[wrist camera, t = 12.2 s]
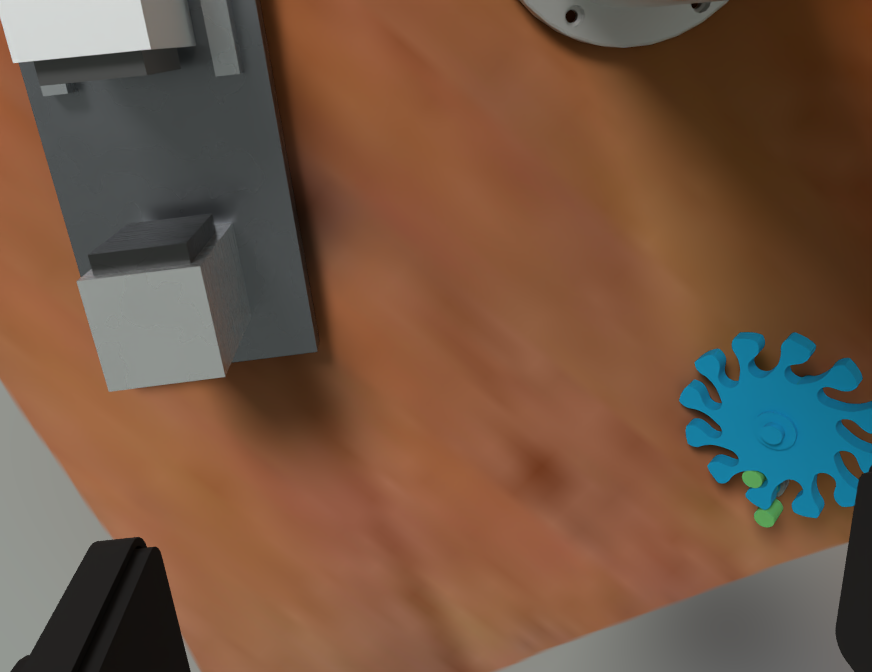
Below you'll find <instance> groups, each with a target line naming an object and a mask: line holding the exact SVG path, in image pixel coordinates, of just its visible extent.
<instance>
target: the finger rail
mask: <svg viewBox="0 0 872 672" xmlns="http://www.w3.org/2000/svg"><path fill="white" fill-rule="evenodd" d="M187 1H188V7H189V12H190V17H191V22H192V27H193V32H194V37H195V42H196V46H190V47H180V48H177V51H178V56H179V61H180V66H181V69H178V70H172V71H167V72H162V73H156V74H151V75H144V76H135V77H125V78H115V79H105V80H95V81H86V82H76V83H66V84H56V85H46V86H40V84H39V80H38V77H37V73H36V69H35V66H34V62H33V61H32V62H20V63H19V66H20V69H21V72H22V76H23V79H24V83H25V86H26V90H27V93H28V97H29V100H30V103H31V107H32V110H33V114H34V117H35V121H36V124H37V128H38V131H39V134H40V138H41V141H42V145H43V148H44V152H45V155H46V159H47V162H48V165H49V169H50V172H51V176H52V179H53V183H54V186H55V190H56V193H57V196H58V200H59V203H60V207H61V210H62V214H63V217H64V221H65V224H66V227H67V231H68V234H69V238H70V241H71V245H72V248H73V252H74V255H75V258H76V262H77V265H78V269H79V272H80V276H81V278H80V279H79V280H77V284H78V288H79V291H80V295H81V298H82V302H83V305H84V308H85V312H86V315H87V319H88V322H89V325H90V329H91V332H92V336H93V339H94V342H95V346H96V349H97V353H98V356H99V360H100V363H101V366H102V370H103V373H104V377H105V380H106V383H107V387H108V390H109V392H110V391H118V390H126V389H134V388H142V387H149V386H157V385H165V384H173V383H181V382H189V381H197V380H205V379H213V378H220V377H225V376H226V374H227V372H228V369H229V367H230V365H231V363H232V362H240V361H248V360H256V359H264V358H272V357H280V356H288V355H296V354H304V353H311V352H317V351H318V346H319V335H318V329H317V323H316V318H315V312H314V306H313V300H312V295H311V289H310V283H309V278H308V272H307V266H306V260H305V255H304V249H303V243H302V238H301V232H300V226H299V220H298V215H297V209H296V203H295V198H294V192H293V186H292V180H291V175H290V169H289V163H288V158H287V152H286V146H285V140H284V135H283V129H282V123H281V118H280V112H279V106H278V100H277V95H276V89H275V83H274V78H273V72H272V66H271V60H270V55H269V49H268V43H267V37H266V32H265V26H264V20H263V15H262V9H261V3H260V0H187Z"/></svg>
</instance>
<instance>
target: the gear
mask: <svg viewBox="0 0 872 672" xmlns="http://www.w3.org/2000/svg"><path fill="white" fill-rule="evenodd" d="M764 346H765V339H764V337H763V335H761V334H758V333H753V332H740V333H739V334H738V335H737V336H736V337H735V338H734V339H733V341H732V349H733V351H734V353H735V354H736V356H737V358H738V361H739V364H740V377H739V381H733V380H731V379H729V378H728V377H727V376H726V374H725V365H726V357H725V354H724V353H723V352H722V351H721V350H720V349H713V350H710V351H708V352H706V353H705V354H703V355H702V356H701V357H700V358H698V359H697V360H696V361H695V366H696V369H697V370H698V371H699V372H700V373H701V374H703V375H704V376H706V377H707V378H708V379H709V380H710V381H711V382H712V383H713V384H714V386H715V387H716V389H717V391H718V393H719V396H720V398H721V401H722V403H717V402H715V401H713V400H712V399H711V398H710V396H709V393H708V391H707V388H706V386H705V385H704V384H703V383H702V382H700V381H698V380H693V381H692V382H691V383H690V384H689V385H688V386H687V387H686V388H685V389H684V390H683V392H682V394H681V396H680V399H679V401H680V402H681V404H682V405H684V406H685V407H687V408H692V409H696V410H699V411H701V412H703V413H705V414H707V415H708V416H709V417H711V418H712V419H713V420H714V421H715V422H716V423H717V424H718V425H719V426H720V427H721V429H722V431H717V430H715V429H714V428H712V427H711V426H710V425H709V424H708V423H707V422H706V421H704V420H703V419H699V418H695V419H693V420H692V421H691V422H690V423H689V424H688V425H687V426H686V438H687V442H688V444H689V445H691V446H694V447H700V446H703V445H717V446H721V447H724V448H726V449H729V450H731V451H733V452H734V453H735V454H736V455H737V456H738V459H734V458H731V457H729V456H726V455H722V454H720V455H716V456H715V457H714V458H713V459H712V461H711V462H710V463H709V464H708V465H707V466H708V469H709V471H710V473H711V474H712V476H713V477H714V478H715V480H716V481H717V482H718V483H726V482H728V481H729V480H730V479H731V477H732V476H733V475H735V474H737V473H739V472H742V471H745V472H744V473H743V475H742V479H743V482H744V483H745V484H746V485H747V486H749V487H750V488H749V489H748V491H747V492H746V498H747V499H748V500H749V501H751V502H752V503H753V504H755V505H756V506H758V507H759V508H758V509H757V511H756V512H755V514H754V518H755V520H756V522H757V523H758V524H759V525H761V526H763V527H771V526H773V525H774V523H775V521H776V520H777V518H778V517H779V515H780V514H781V512H782V511H783V506H782V504H781V502H780V501H779V500H777V499H776V497H779V496H781V495H782V494H783V492H784V491H785V489H786V488H787V486H788V484H789V481H790V479H791V480H795V481H797V482H798V483H799V484H800V485H801V486H802V488H803V490H801V491H800V492H799V493H798V495H797V496H796V498H795V499H794V501H793V502H792V509H793V511H794V513H797V514H799V515H802V516H806V517H812V518H817V517H818V516H819V514H820V513H821V511H822V509H823V508H824V500H823V498H822V496H821V495H820V493H819V491H818V487H817V475H818V473H827V474H829V475H831V476H832V477H833V478H834V479H835V481H836V488H835V491H834V498H835V500H836V502H837V503H838V504H839V505H840V506H842V507H850V506H855V499H856V493H857V486H858V482H859V479H857V478H856V477H855V476H854V475H852V474H851V473H850V472H849V470H848V469H847V468H846V466H845V465H844V463H843V461H842V458H841V455H840V453H839V451H847V452H850V453H852V454H853V455H854V456H855V457H856V459H857V461H858V464H859V466H860V469H861V470H862V471H863V473H867V472H869V468H870V467H871V465H872V444H871V443H868V442H865V441H863V440H861V439H859V438H858V437H856V436H855V435H854V434H852V433H851V432H850V431H849V430H848V429H847V428H846V427H844V425H843V424H842V422H841V420H842V419H849V420H852V421H854V422H855V423H856V424H857V425H859V426H860V427H861V428H862V429H863V430H864V431H866V432H868V433H870V434H872V401H870V402H867V403H861V404H850V403H845V402H841V401H838V400H835V399H832V398H829V397H828V396H827V395H826V394H825V393H824V392H823V387H831V388H834V389H837V390H840V391H852V390H854V389H856V388H857V387H858V385H859V384H860V382H861V381H862V379H863V377H862V374H861V372H860V370H859V368H858V367H857V366H856V364H855V363H854V362H853V361H852V360H851V359H850V358H842V359H840V360H838V361H837V362H836V363H835V364H834V366H833V367H832V368H831V369H830V370H828V371H827V372H825V373H823V374H820V375H817V376H811V375H806V376H804V377H799V376H797V375H795V374H794V373H793V372H792V371H791V368H790V365H795V364H801V363H804V362H806V361H807V360H808V359H809V358H810V356H811V355H812V354H813V353H814V351H815V349H816V345H815V344H814V343H813V342H812V341H811V340H809V339H808V338H806V337H804V336H802V335H800V334H798V333H795V332H794V333H792V334H791V335H789V337H788V338H787V339H786V340H785V341H784V342H783V344H782V346H781V357H780V361H779V363H778V365H777V366H776V367H775V368H773V369H772V370H770V371H763V370H761V369H759V368H758V367H757V366H756V365H755V362H754V358H755V357H756V355H757V354H758V353H759V352H760V351H761V350H762V349H763V348H764Z"/></svg>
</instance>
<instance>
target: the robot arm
mask: <svg viewBox="0 0 872 672" xmlns="http://www.w3.org/2000/svg"><path fill="white" fill-rule="evenodd" d="M519 1H520V2H521V3H522V4H523V5H524V6H525V7H526V8H527V9H528V10H529V11H530V12H531V13H532V14H533V16H535V17H536V18H538V19H539V20H540V21H542V22H543V23H545V24H546V25H548V26H549V27H550V28H552V29H553V30H555V31H556V32H558V33H561V34H563V35H565V36H568V37H570V38H572V39H575V40H577V41H579V42H584V43H589V44H594V45H598V46H604V47H621V48H626V47H635V46H644V45H651V44H655V43H658V42H661V41H664V40H667V39H670V38H673V37H676V36H679V35H680V34H682V33H684V32H686V31H688V30H689V29H691V28H693V27H695V26H697V25H699V24H700V23H702V22H704V21H705V20H706V19H707V18H709V17H710V16H711V15H712V14H714V13H715V12H716V11H717V10H719V9H720V8H721V7H722V6H724V5H725V4H726V3H727V2H728V1H729V0H519ZM693 3H698V4H697V6H696V7H695V8H694V9H693V8H692V6H691V4H693ZM569 10H572V11H573V12H574V13H575V20H574V21H573V22H571V23H569V22H568V21H567V20H566V13H567V12H568V11H569ZM836 639H837V642H838V646H839V649H840V651H841V653H842V655H843V657H844V658H845V660H846V661H847V662H848V664H849V665H850V666H851V668H852V669H853V670H854V672H872V465H871V467H870V468H869V472H867V473H864V474H862V475H861V477H860V478H859V482H858V486H857V493H856V499H855V506H854V512H853V519H852V525H851V531H850V538H849V544H848V551H847V557H846V564H845V570H844V577H843V584H842V590H841V597H840V603H839V609H838V616H837V622H836ZM11 672H190V668H189V663H188V659H187V655H186V652H185V647H184V643H183V639H182V635H181V631H180V627H179V623H178V619H177V615H176V611H175V607H174V603H173V599H172V595H171V591H170V587H169V583H168V579H167V575H166V571H165V567H164V563H163V559H162V555H161V552H160V550H159V549H158V548H157V547H148V548H147V546H146V543H145V542H144V540H143V539H142V538H140V537H134V538H125V539H115V540H106V541H97V542H94V543H93V544H92V545H91V546H90V548H89V549H88V551H87V553H86V555H85V556H84V558H83V560H82V562H81V564H80V566H79V567H78V569H77V571H76V573H75V574H74V576H73V578H72V580H71V582H70V584H69V585H68V587H67V589H66V591H65V593H64V595H63V596H62V598H61V600H60V602H59V604H58V605H57V607H56V609H55V611H54V612H53V614H52V616H51V618H50V620H49V622H48V623H47V625H46V627H45V629H44V631H43V633H42V634H41V636H40V638H39V640H38V641H37V643H36V645H35V647H34V649H33V650H32V652H31V654H30V655H27V656H25V657H24V658H22V659H21V660H19V661H18V662H17V663H16V665H15V666H14V667H13V669H12V670H11Z"/></svg>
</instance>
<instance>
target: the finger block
mask: <svg viewBox="0 0 872 672" xmlns="http://www.w3.org/2000/svg"><path fill="white" fill-rule="evenodd" d="M0 18H1V21H2V25H3V29H4V32H5V36H6V39H7V43H8V46H9V50H10V53H11V57H12V61H13V63H20V62H32V61H33V62H34V66H35V69H36V73H37V77H38V80H39V84H40V86H46V85H56V84H66V83H76V82H86V81H95V80H105V79H115V78H125V77H135V76H144V75H151V74H156V73H162V72H167V71H172V70H178V69H181V66H180V61H179V56H178V51H177V48H180V47H190V46H196V42H195V37H194V32H193V27H192V22H191V17H190V12H189V7H188V1H187V0H0Z"/></svg>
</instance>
